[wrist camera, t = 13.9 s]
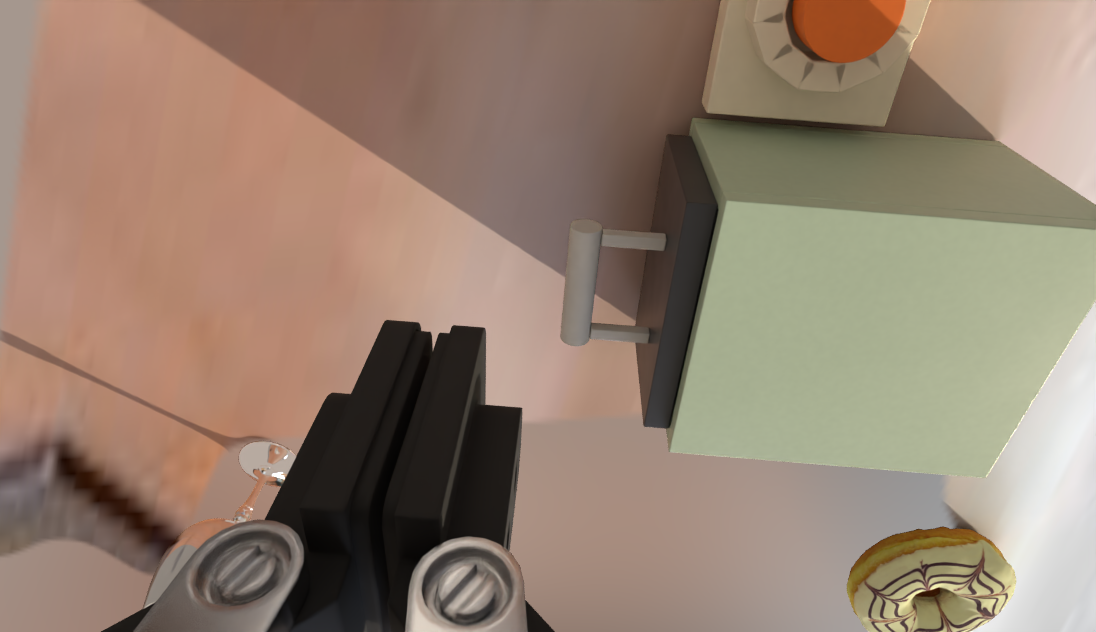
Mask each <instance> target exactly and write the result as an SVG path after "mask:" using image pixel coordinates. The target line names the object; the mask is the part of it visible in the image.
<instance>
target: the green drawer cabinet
mask: <svg viewBox="0 0 1096 632" xmlns="http://www.w3.org/2000/svg"><path fill="white" fill-rule="evenodd" d="M689 136H691V137H692V139H693V141H694V144H695V147H696V149H697V152H698V154H699V157H700V160H701V162H702V165H703V167H704V170H705V173H706V175H707V178H708V180H709V183H710V186H711V188H712V191H713V193H714V196H715V199H716V201H717V204H718V210H719V211H718V216H717V220H716V225H715V229H714V234H713V238H712V242H711V247H710V251H709V256H708V260H707V265H706V269H705V274H704V278H703V283H702V287H701V292H700V296H699V301H698V305H697V310H696V314H695V319H694V323H693V328H692V332H691V337H690V341H689V346H688V350H687V353H685V357H684V362H683V366H682V371H681V375H680V380H679V385H678V389H677V394H676V398H675V403H674V407H673V412H672V416H671V421H670V425H669V428H668V429H666V432H667V438H668V448H669V452H674V453H687V454H699V455H711V456H723V457H735V458H748V459H760V460H772V461H784V462H797V463H808V464H820V465H833V466H845V467H857V468H869V469H881V470H894V471H906V472H918V473H930V474H942V475H954V476H966V477H979V478H986V477H987V475H988V474H989V472H990V470H991V469H992V467H993V465H994V464H995V462H996V461H997V459H998V457H999V456H1000V454H1001V453H1002V451H1003V449H1004V448H1005V446H1006V444H1007V443H1008V441H1009V440H1010V438H1011V436H1012V435H1013V433H1014V432H1015V430H1016V428H1017V427H1018V425H1019V423H1020V422H1021V420H1022V419H1023V417H1024V415H1025V414H1026V412H1027V411H1028V409H1029V407H1030V406H1031V404H1032V402H1033V401H1034V399H1035V398H1036V396H1037V394H1038V393H1039V391H1040V390H1041V388H1042V386H1043V385H1044V383H1045V381H1046V380H1047V378H1048V377H1049V375H1050V373H1051V372H1052V370H1053V369H1054V367H1055V365H1056V364H1057V362H1058V361H1059V359H1060V357H1061V356H1062V354H1063V352H1064V351H1065V349H1066V348H1067V346H1068V344H1069V343H1070V341H1071V340H1072V338H1073V336H1074V335H1075V333H1076V331H1077V330H1078V328H1079V327H1080V325H1081V323H1082V322H1083V320H1084V319H1085V317H1086V315H1087V314H1088V312H1089V310H1090V309H1091V307H1092V306H1093V304H1094V302H1095V301H1096V205H1095V204H1093V203H1092V202H1090V201H1089V200H1087V199H1086V198H1084V197H1083V196H1081V195H1080V194H1078V193H1077V192H1075V191H1074V190H1072V189H1071V188H1069V187H1068V186H1066V185H1065V184H1063V183H1062V182H1060V181H1059V180H1057V179H1056V178H1054V177H1052V176H1051V175H1049V174H1048V173H1046V172H1045V171H1043V170H1042V169H1040V168H1039V167H1037V166H1036V165H1034V164H1033V163H1031V162H1030V161H1028V160H1027V159H1025V158H1024V157H1022V156H1021V155H1019V154H1018V153H1016V152H1015V151H1013V150H1011V149H1010V148H1008V147H1007V146H1006V145H1004V144H1003V143H1001V142H999V141H988V140H975V139H962V138H949V137H936V136H924V135H911V134H898V133H885V132H872V131H859V130H846V129H833V128H820V127H807V126H794V125H781V124H768V123H755V122H743V121H730V120H717V119H704V118H692V121H691V126H690V132H689Z"/></svg>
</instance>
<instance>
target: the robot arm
mask: <svg viewBox="0 0 1096 632" xmlns="http://www.w3.org/2000/svg"><path fill="white" fill-rule="evenodd" d="M485 384H486V330H485V328H481V327H469V326H456V325H453V326H452V328H451V331H450V333H439V335H438V338H437V341H436V344H435V347H434V350H433V349H432V335H431V332H424V331H421V327H420V324H419V323H418V322H405V321H392V320H386V321H385V322H384V324H383V325H382V328H381V330H380V332H379V334H378V336H377V339H376V341H375V343H374V345H373V347H372V349H371V352H370V354H369V356H368V358H367V360H366V363H365V365H364V367H363V369H362V371H361V374H360V376H359V378H358V380H357V382H356V384H355V387H354V389H353V391H352V393H351V394H342V393H331V394H330V395H328V396H327V398H326V399H325V401H324V403H323V405H322V407H321V409H320V411H319V413H318V414H317V416H316V418H315V420H314V422H313V424H312V426H311V428H310V430H309V432H308V434H307V436H306V438H305V440H304V443H303V444H302V446H301V448H300V450H299V452H298V454H297V456H296V458H295V460H294V462H293V464H292V466H291V468H290V470H289V472H288V474H287V476H286V478H285V480H284V482H283V484H282V486H281V488H280V490H279V492H278V494H277V496H276V498H275V500H274V502H273V504H272V506H271V508H270V510H269V512H268V514H267V516H266V518H265V520H253V521H246V522H241V523H238V524H235V525H233V526H230V527H228V528H225V529H223V530H221V531H220V532H218V533H217V534H215V535H214V536H212V537H210V538H209V539H207V540H206V541H205V542H204V543H203V544H202V545H201V546H200V547H199V548H198V549H197V550H196V551H195V552H194V553H193V554H192V556H191V557H190V558H189V560H188V561H187V562H186V564H185V565H184V566H183V567H182V569H181V570H180V571H179V573H178V574H177V575H176V577H175V578H174V579H173V580H172V582H171V583H170V584H169V586H168V587H167V588H166V590H165V591H164V592H163V593H162V595H161V596H160V597H159V599H158V600H157V601H156V602H155V603H153V604H151V605H149V606H148V607H146V608H144V609H142V610H140V611H138V612H137V613H135V614H133V615H131V616H129V617H128V618H126V619H124V620H122V621H120V622H118V623H116V624H114V625H113V626H111V627H109V628H107V629H105V630H103V631H101V632H554V631H553V629H551V627H550V626H549V625H548V624H547V623H546V622H545V621H544V620H543V619H542V617H540V615H539V614H538V613H537V612H536V611H535V610H534V609H533V608H532V607H531V606H530V605H529V604H528V602H527V601H526V600H525V592H524V580H523V576H522V572H521V568H520V565H519V564H518V562H517V561H516V560H515V558H514V557H513V555H512V554H511V553H510V552H509V550H510V542H511V533H512V525H513V517H514V508H515V499H516V491H517V481H518V472H519V461H520V448H521V429H522V408H518V407H505V406H493V405H485Z"/></svg>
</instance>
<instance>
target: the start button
mask: <svg viewBox="0 0 1096 632" xmlns="http://www.w3.org/2000/svg"><path fill="white" fill-rule="evenodd" d="M905 5H906V0H794V1H793V7H792V21H793V26H794V29H795V32H796V34H797V36H798V37H799V39H800V40H801V41H802V42H803V43H804V44H805V45H806V46H807V47H808V48H810V49H811V50H812V51H813V52H815V53H816V54H817V55H818V56H820V57H821V58H823V59H825V60H828V61H831V62H836V63H850V62H855V61H858V60H861V59H864V58H866V57H868V56H870V55H872V54H873V53H875V52H876V51H878V50H879V49H880V48H881V47H883V46H884V45H885V44H886V43H887V42H888V41H889V39H890V38H891V37H892V36H893V34H894V33H895V31H896V30H897V28H898V26H899V24H900V22H901V20H902V17H903V14H904V10H905Z"/></svg>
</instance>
